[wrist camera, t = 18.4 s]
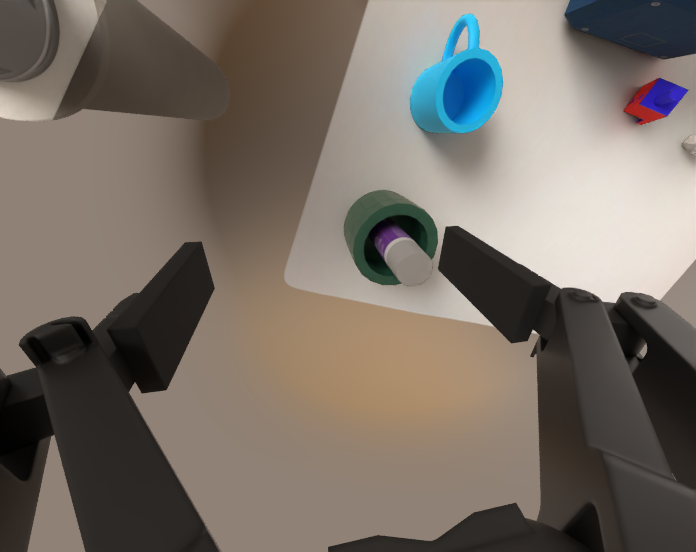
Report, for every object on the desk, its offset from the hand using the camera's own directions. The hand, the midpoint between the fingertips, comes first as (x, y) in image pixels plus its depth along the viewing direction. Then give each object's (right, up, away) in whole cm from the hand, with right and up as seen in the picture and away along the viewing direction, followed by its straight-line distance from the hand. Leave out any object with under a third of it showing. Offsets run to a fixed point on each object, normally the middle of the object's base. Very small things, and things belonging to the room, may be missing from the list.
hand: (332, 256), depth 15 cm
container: (+6, +7, +30) cm, 32 cm away
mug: (+14, +26, +23) cm, 37 cm away
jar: (+6, +7, +31) cm, 32 cm away
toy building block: (+47, +26, +28) cm, 61 cm away
